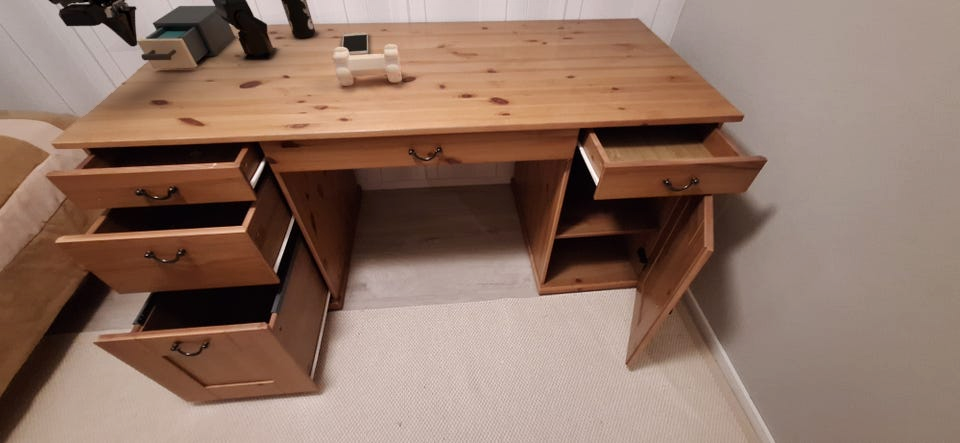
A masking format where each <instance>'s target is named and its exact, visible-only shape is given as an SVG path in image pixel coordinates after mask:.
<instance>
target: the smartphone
mask: <svg viewBox="0 0 960 443" xmlns="http://www.w3.org/2000/svg"><path fill="white" fill-rule="evenodd" d="M341 42H342V43H341V47H345V48H347V49H348V51H349V54H350V55H366V54H370V52H369V33H368V32H367V31H365V32H351V33H350V32H349V33H343V34H342V41H341Z"/></svg>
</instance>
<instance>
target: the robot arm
mask: <svg viewBox="0 0 960 443" xmlns="http://www.w3.org/2000/svg"><path fill="white" fill-rule="evenodd" d="M211 1H212V3H213V5H214V6H215V7H216V13H217V14H219V15H220V16H221V17H222V19H223V20H224V21H226V22H227V23H229V25H230V26H233V27H234V28H235V29H236V30H238V32H237V35H238V37H239V38H238V42H239V43H240V46H241V48H242V50H243V53H244V55H245V56H244V59H245V60H268V59H270V58H271V57H272V56H273V54H275V52H276V51H277V47H273V44H272V41H271V39H270V36H269V33H268V24H267V23H266V22H264V21H262V20H261V19H259V18H258V17H256V16H255V15H254V13H253V11H252V9H251V7H250V5H249V3H248V1H247V0H211ZM48 2H50V3H51V4H52V5H55V6H56V5H58V4H59V5H60V6H61V7H63V8H61V9H59V11H58V17H59V18H60V19H61V20H62V22H63V23H64V25H65V26H66V27H95V26H100V25H102V24H103V25H105V26H106V27H107V28H108V29H110V30H111V31H112V32H113V33H115V34H116V35H117V36H118V37H120V39H122V40H123V41H124V42H125V43H126V44H127V45H128V46H130V47H136V46H138V43H137V40H138V38H137V27H136V10H138V9H137V6H135V5H133V6H131V5H129V4H128V2H126V0H48Z"/></svg>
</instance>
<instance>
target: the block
mask: <svg viewBox="0 0 960 443" xmlns="http://www.w3.org/2000/svg"><path fill="white" fill-rule="evenodd" d="M186 32H187V31H167V32H165V33H164V34H163V35H161V36H160V37H158V38H157V39H180V37H181V36H182V35H183V34H185V33H186Z"/></svg>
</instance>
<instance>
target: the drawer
mask: <svg viewBox="0 0 960 443" xmlns="http://www.w3.org/2000/svg"><path fill="white" fill-rule="evenodd" d="M167 31H187V32H186V33H185V34H183V35H182V36H181V37H180V39H157V38H158V37H160V36H161V35H163V34H164V33H165V32H167ZM137 45H138V46H139V48H140V49H141V51H142V54H141V55H140V56H141V57H140V58H141V59H142V60H143V61H148V62H149V64H150V65H151V67H152V69H188V68H189V69H194V68H197V67H198V64H197V63H198V62H199V61H200V60H201V59H202V58H203V57H205V56H204V55H205V54H206V53H207V52H208V51H210V50H209V49H208V47H207V45H206V43H205V41H204V39H203V37H202V35H201V33H200V31H199V29H198V27H197V26H162V27H161V28H159V29H158V30H156V29H155V31H153V32H152V33H150V34H148V35H147V36H146V37H145V38H137Z"/></svg>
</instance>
